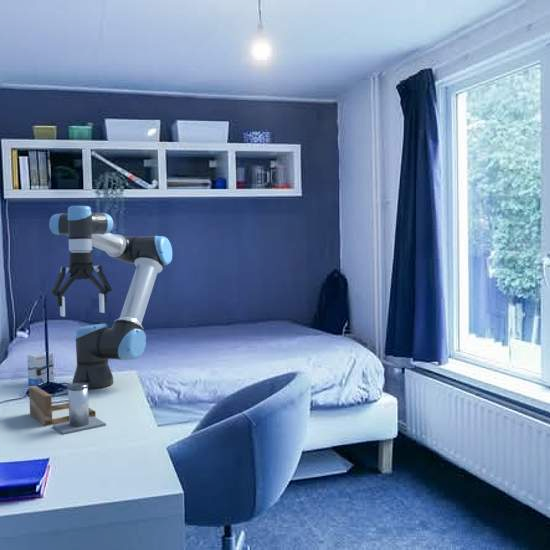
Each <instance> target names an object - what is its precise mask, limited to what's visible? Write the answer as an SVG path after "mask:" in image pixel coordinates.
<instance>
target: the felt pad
mask: <svg viewBox="0 0 550 550" xmlns="http://www.w3.org/2000/svg"><path fill="white" fill-rule="evenodd" d="M105 426H107V423H106V422H104V421H102V420H101V419H99V418H98V417H96V416H93V417H89V424H88V425H86V426H82V427H71V426H70V424H69V421H68V422H63V423H58V424H53V425H52V428H54V430H56V431H57V432H59V433H60V434H62V435H67V434H72V433H76V432H82V431H86V430H91V429H95V428H96V429H97V428H101V427H105Z"/></svg>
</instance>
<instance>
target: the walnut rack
mask: <svg viewBox="0 0 550 550" xmlns="http://www.w3.org/2000/svg"><path fill="white" fill-rule="evenodd" d="M28 392H29V393H28V396H29V399H28V400H29V414H30V416H32V417H34V419H36V420H37V421H39V422H40V424H42V425H44V426H45V427H47V426H53V425H55V424H60V423H66V422H69V415H66V416H59V417H54V418H53V412H54V411H58V410H59V411H60V410H64V409H69V402H64V403H58V404H53V405H52V401H53V400H52V395H51V394H50V393H48V392H46V391H45V390H43V389H42V388H40V387H39V386H32V385H29V386H28ZM88 409H89V418H91V417H96V411H95V410H94V409H92V408H90V407H89V406H88Z"/></svg>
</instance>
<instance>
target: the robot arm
mask: <svg viewBox="0 0 550 550" xmlns="http://www.w3.org/2000/svg"><path fill="white" fill-rule="evenodd" d="M48 225H49V230H50V231H51V234H54V235H60V236H67V237H68V250H69V252H70V253H69V254H68V261H69V263H68V264H69V266H68V267H66V266H60V267H59V273H58V276H57V277H56V281H55V282H54V285H53V287H52V289H51V291H50V295H51V296H54V297H56V305H57V307H59V314H60V315H59V316H60V317H66V300H65V299H66V298H65V296H63V295H64V294H65V293H66V292H67V291H68V289H69V288H70V286H71V285H72V284H73V283H74V281H76V280H78V281H79V280H88V281H90V283H92V284H93V285H94V286H95V288H97V290H98V291H99V292H100V293H98V304H99V305H98V307H99V309H98V310H99V311H98V312H99V313H102V314H105V313H106V311H105V304H106V303H107V299H108V298H107V297H108V296H107V294H108V293H110V292H112V291H113V289H112V287H111V285H110V282H108V279H107V277H106V275H105V273H104V271H103V266H102V265H99V264H98V265H94V264H93V263H94V261H93V259H94V258H93V253H92V252H91V251H93V247H94V248H96V249H97V250H101V251H103V252H105V253H106V254H107V255H108V256H109V257H111V258H113V259H115V260H119V261H121V262H124V263H127V264H131V265H135V267H136V268H135V271H134V274H133V277H132V279H131V283H130V285H129V288H128V291H127V295H126V298H125V301H124V303H123V306H122V310H121V313H120V316H119V318H117V319H115V320H114V321H113V324H112V327H111V328H110V327H108V325H107V323H98V324H97V323H96V324H89V325H84V326H79V327H78V328H77V329H76V330H75V338H74V339H75V353H76V367H75V371H74V375H73V377H72V384H73V383H88V390H93V389H94V388H95V389H101V388H100V387H102V388H107V387H109V385H110V386H111V384H112V385H113V384H114V375H113V373H112V369H111V367H110V365H109V360H117V361H118V360H119V361H134V360H137V359H138V358H140V357H141V356H142V354H143V353H144V351H145V348H146V345H147V341H146V340H147V336H146V333H145V331H144V327H143V325H142V323H143V319H144V316H145V313H146V310H147V307H148V304H149V300H150V298H151V294H152V292H153V289H154V286H155V282H156V279H157V275H158V274H160V273H161V272H163V269H164V266H167V265H169V264H171V262H172V261H173V248H172V244H171V242H170V240H169V239H168V238H167V237H166V236H163V235H162V236H160V235H159V236H158V235H153V236H151V235H150V236H148V235H147V236H145V235H143V236H141V235H137V236H134V235H132V236H125V235H122V234H117V233H116V234H113V233H112V232H111V231H113V228H114V220H113V218H112V216H110V214H108V213H106V212H105V213H104V212H92V208H91V207H90V206H88V205H71V206H69V207H68V208H67V213H55V214H52V216H51V217H50V219H49V223H48ZM94 271H95V273H96V274H97V276H98V278H99V280H100V281H98V279H96V277H95V276H94V275H93V272H94ZM68 273H69V277H68V278H67V279H66V281H65V282H64V283H63V281H64V279H65V277H66V274H68ZM100 282H101V283H100ZM62 283H63V284H62ZM106 386H107V387H106Z"/></svg>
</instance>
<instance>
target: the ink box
mask: <svg viewBox="0 0 550 550" xmlns="http://www.w3.org/2000/svg"><path fill="white" fill-rule="evenodd" d="M46 352H47V351H43V352H37V353H32V354H31V353H30V354H28V355H27V376H28V377H27V378H28V379H27V380H28V383H27V384H28V386H36V385H39V384H41V383H44V382H46V380H47V366H46ZM54 365H55V363H54V352H53V353H52V352H49V376H50V381H54V382H55V367H54ZM39 386H40V385H39Z"/></svg>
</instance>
